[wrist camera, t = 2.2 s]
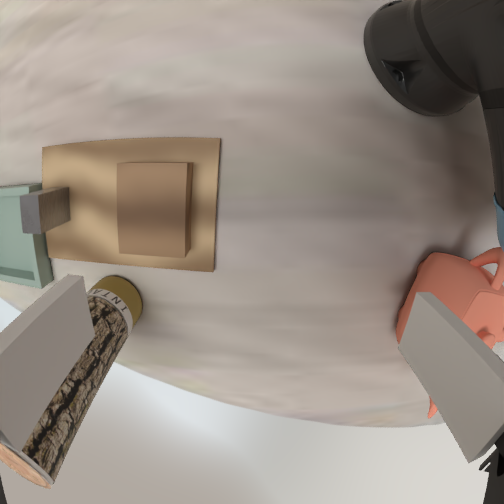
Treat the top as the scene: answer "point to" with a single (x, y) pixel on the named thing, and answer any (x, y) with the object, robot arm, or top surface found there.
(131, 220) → the walnut plate
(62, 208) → the block
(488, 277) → the teapot
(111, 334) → the log cylinder
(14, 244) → the tray
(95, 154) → the board
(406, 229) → the top surface
